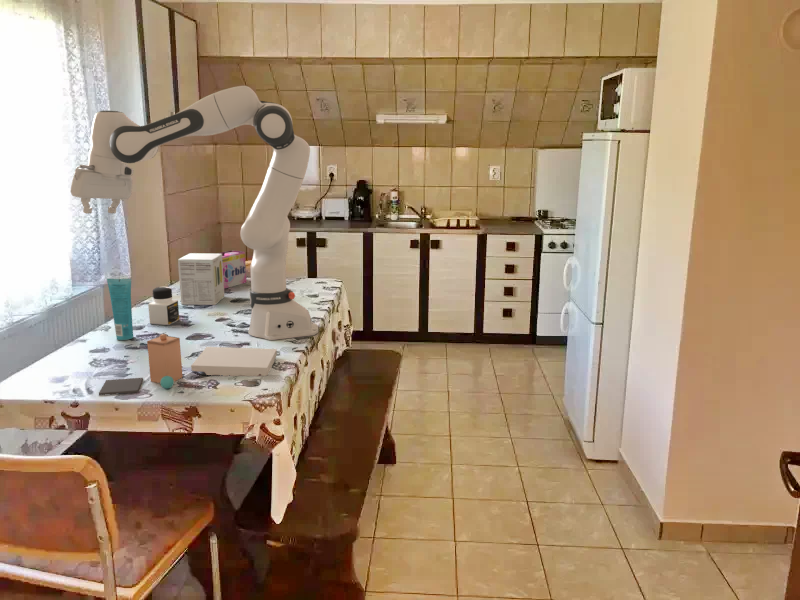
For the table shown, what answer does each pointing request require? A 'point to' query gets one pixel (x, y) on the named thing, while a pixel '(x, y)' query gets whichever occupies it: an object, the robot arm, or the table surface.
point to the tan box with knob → (164, 358)
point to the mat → (121, 386)
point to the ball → (167, 382)
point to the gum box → (233, 268)
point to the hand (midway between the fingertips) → (99, 213)
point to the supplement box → (201, 278)
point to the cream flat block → (235, 361)
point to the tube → (121, 307)
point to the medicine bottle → (163, 307)
